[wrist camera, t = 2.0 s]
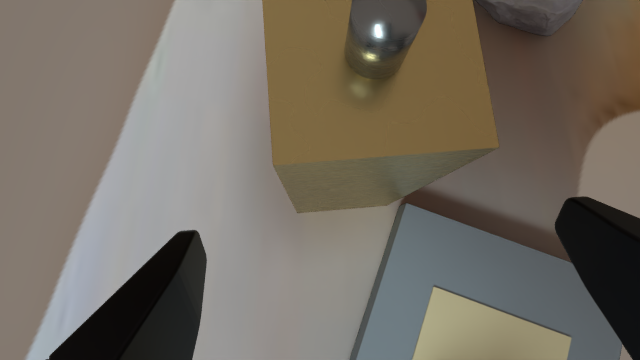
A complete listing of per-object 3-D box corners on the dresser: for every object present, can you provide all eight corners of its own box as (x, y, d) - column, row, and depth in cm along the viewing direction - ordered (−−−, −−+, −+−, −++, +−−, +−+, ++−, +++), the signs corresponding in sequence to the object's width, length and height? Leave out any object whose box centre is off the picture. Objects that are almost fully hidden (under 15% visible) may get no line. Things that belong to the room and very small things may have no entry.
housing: (386, 205, 20) (547, 122, 6) (297, 213, 19) (262, 144, 6) (376, 120, 20) (496, -115, 7) (290, 127, 20) (248, -101, 7)
